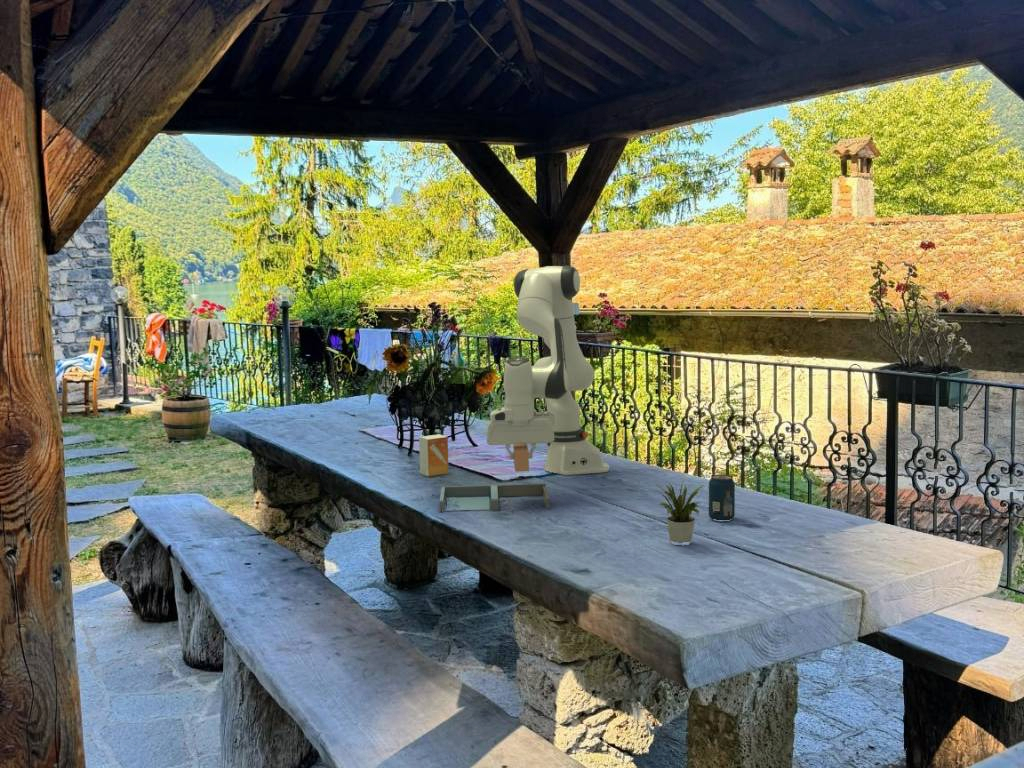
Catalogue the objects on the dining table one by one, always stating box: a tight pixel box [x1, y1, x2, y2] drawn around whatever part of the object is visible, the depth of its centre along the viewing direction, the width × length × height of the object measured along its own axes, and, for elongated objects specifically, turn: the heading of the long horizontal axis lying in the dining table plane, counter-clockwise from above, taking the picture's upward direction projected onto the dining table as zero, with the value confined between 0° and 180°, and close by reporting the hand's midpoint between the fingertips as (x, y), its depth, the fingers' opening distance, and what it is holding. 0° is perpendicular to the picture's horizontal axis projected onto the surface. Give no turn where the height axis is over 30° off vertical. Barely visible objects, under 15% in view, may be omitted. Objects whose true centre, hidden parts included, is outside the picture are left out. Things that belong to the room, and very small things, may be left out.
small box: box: [418, 433, 450, 477], centre depth 318 cm, size 8×6×13 cm
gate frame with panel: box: [439, 483, 551, 512], centre depth 277 cm, size 32×17×4 cm, turn 92°
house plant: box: [649, 479, 705, 543], centre depth 233 cm, size 14×14×16 cm
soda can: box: [708, 473, 736, 520], centre depth 253 cm, size 7×7×12 cm
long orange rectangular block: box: [512, 444, 530, 473], centre depth 276 cm, size 4×12×6 cm, turn 2°
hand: (521, 458), depth 276 cm, fingers closed on long orange rectangular block, 4 cm apart
